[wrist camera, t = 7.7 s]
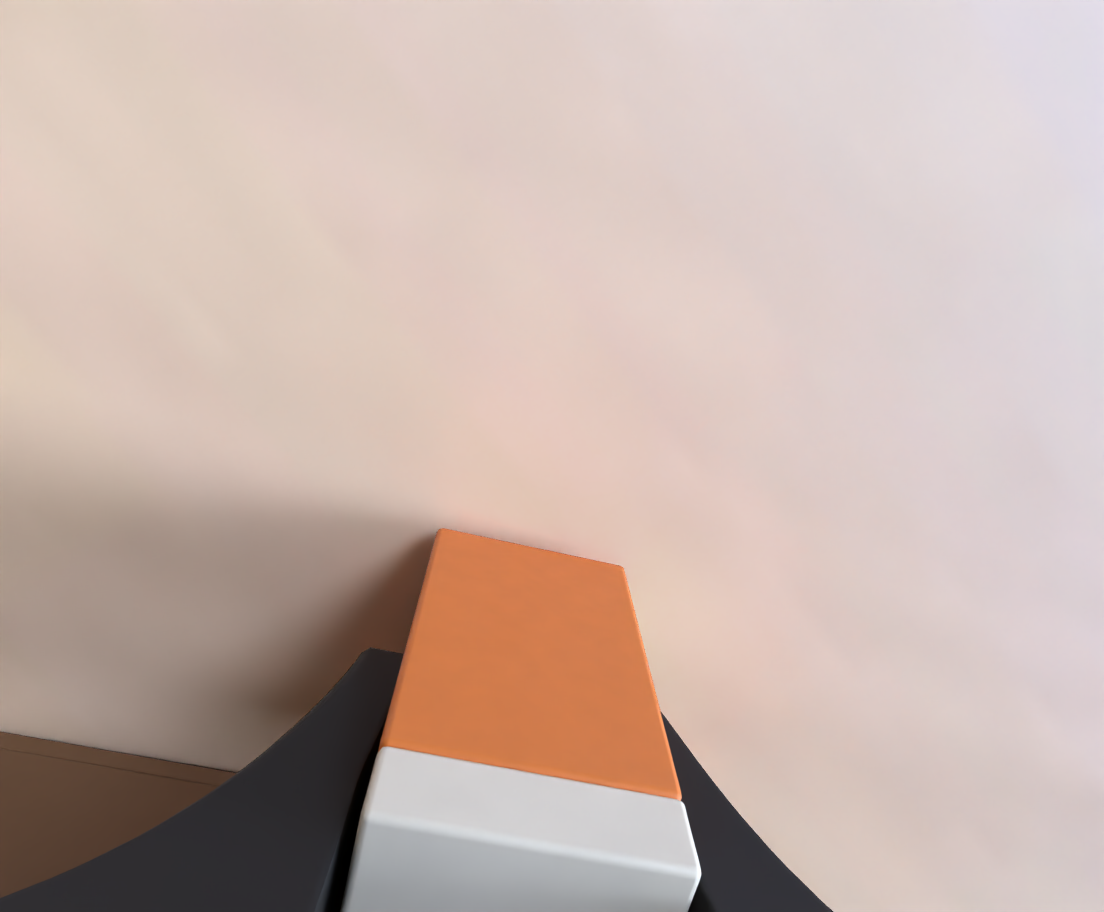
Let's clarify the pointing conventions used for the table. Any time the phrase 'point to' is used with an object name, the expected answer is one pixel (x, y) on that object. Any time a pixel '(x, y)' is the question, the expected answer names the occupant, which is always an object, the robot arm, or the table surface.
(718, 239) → the table surface
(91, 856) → the carton
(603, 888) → the tea packet
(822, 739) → the table surface
